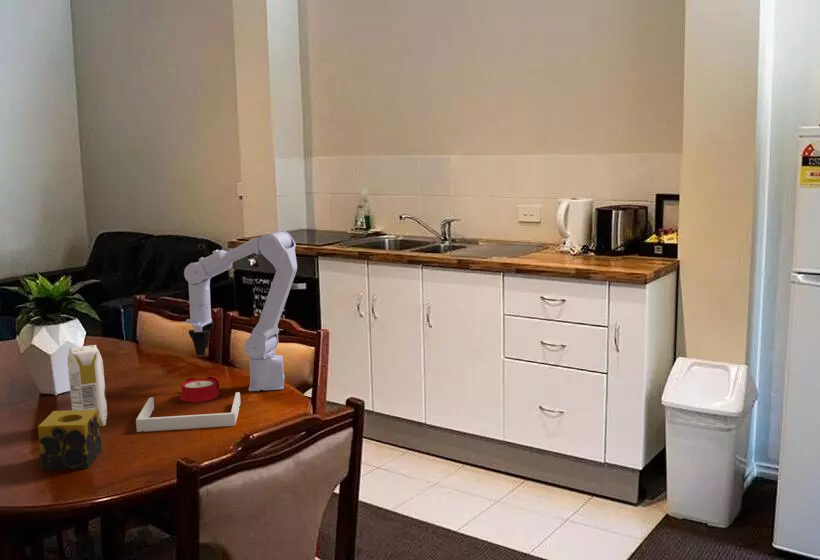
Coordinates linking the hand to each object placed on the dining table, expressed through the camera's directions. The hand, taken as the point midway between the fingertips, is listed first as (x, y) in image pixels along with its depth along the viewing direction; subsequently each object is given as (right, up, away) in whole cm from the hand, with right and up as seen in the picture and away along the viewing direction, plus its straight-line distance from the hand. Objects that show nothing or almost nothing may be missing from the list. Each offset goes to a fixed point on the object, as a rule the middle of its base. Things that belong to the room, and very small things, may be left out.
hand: (202, 351), depth 228 cm
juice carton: (-20, -15, -31) cm, 40 cm away
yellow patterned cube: (-14, -19, -54) cm, 59 cm away
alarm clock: (+2, -12, -9) cm, 15 cm away
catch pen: (+4, -14, -27) cm, 30 cm away
